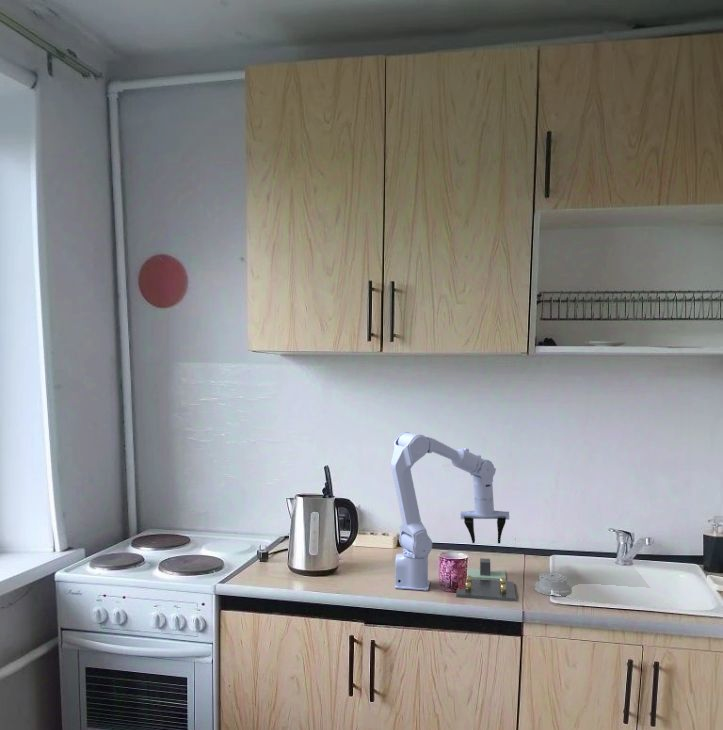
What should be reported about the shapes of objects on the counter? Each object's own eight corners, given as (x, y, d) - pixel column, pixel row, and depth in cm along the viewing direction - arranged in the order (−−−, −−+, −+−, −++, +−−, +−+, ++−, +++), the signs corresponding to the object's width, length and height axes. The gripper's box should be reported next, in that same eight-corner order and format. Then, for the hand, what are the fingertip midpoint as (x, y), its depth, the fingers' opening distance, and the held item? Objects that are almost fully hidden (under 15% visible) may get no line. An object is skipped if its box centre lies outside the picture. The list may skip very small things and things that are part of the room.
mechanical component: (576, 590, 176) (543, 583, 182) (576, 575, 176) (543, 568, 182) (563, 600, 168) (529, 592, 174) (563, 584, 168) (529, 576, 174)
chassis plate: (456, 597, 169) (456, 586, 169) (458, 580, 183) (458, 571, 183) (516, 601, 166) (516, 590, 166) (513, 584, 180) (513, 574, 180)
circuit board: (465, 579, 186) (465, 563, 186) (465, 571, 193) (465, 555, 194) (505, 582, 183) (505, 565, 184) (504, 573, 191) (504, 557, 191)
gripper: (508, 494, 190) (510, 538, 190) (461, 495, 194) (463, 538, 194) (507, 500, 183) (510, 545, 183) (458, 500, 187) (461, 545, 187)
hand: (486, 542), depth 188 cm, fingers open, 7 cm apart
